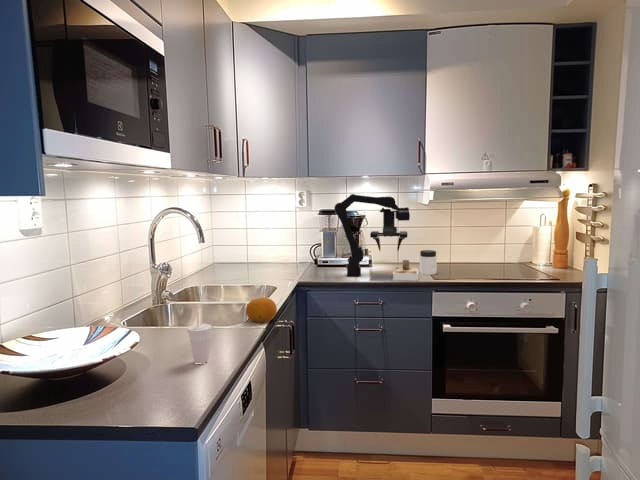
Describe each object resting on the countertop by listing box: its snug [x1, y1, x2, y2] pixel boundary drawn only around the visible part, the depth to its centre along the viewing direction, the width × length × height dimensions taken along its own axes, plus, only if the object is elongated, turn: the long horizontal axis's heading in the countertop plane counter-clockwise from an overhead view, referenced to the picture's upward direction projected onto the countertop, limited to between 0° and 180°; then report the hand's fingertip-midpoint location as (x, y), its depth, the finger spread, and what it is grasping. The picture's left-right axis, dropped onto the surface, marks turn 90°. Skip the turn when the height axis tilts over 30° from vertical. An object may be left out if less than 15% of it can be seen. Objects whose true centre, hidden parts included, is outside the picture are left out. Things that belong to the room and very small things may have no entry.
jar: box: [419, 249, 438, 276], centre depth 240 cm, size 9×8×12 cm
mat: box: [369, 275, 393, 282], centre depth 228 cm, size 11×11×1 cm
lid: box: [394, 259, 418, 274], centre depth 226 cm, size 10×10×6 cm
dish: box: [392, 268, 419, 282], centre depth 227 cm, size 12×12×4 cm
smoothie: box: [186, 311, 213, 364], centre depth 121 cm, size 6×6×14 cm
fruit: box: [245, 297, 278, 323], centre depth 159 cm, size 10×10×8 cm
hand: (388, 251), depth 235 cm, fingers open, 9 cm apart
